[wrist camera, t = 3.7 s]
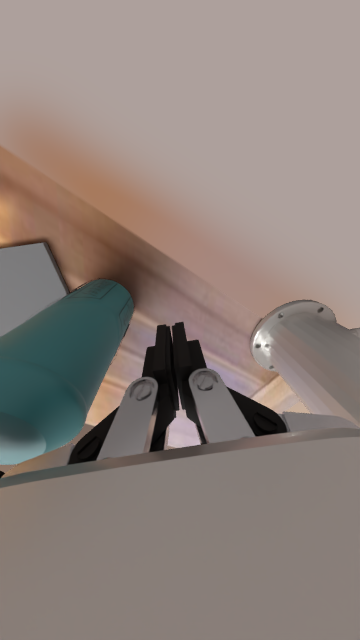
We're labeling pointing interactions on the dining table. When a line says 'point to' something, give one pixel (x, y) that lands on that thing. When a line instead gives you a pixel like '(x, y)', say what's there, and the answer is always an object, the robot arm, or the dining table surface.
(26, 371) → the beverage bottle
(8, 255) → the mat
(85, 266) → the dining table surface
